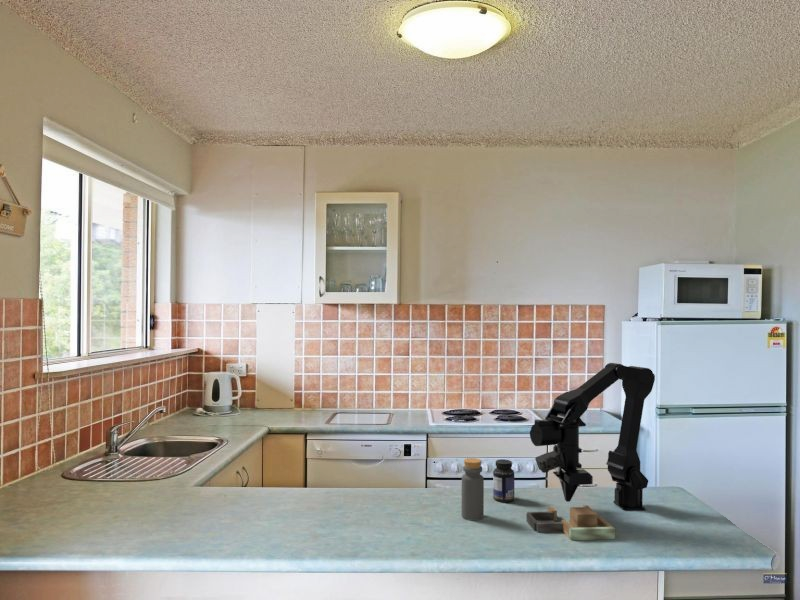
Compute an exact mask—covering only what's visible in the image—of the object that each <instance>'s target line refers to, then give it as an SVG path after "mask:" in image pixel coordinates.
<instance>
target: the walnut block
mask: <svg viewBox="0 0 800 600" xmlns="http://www.w3.org/2000/svg"><path fill="white" fill-rule="evenodd" d="M589 507H590V506H589ZM589 507H583V506H582V507H581V506H577V507H575V506H573V507H572V506H571V507H569V523H570V524H571V525H572V526H573V527H574V528H579V527H597V514H598V513H597V512H596V511H595V510H594V509H593V508H591V507H590V508H589ZM593 510H594V511H595V512H596V513H597V514H596V513H595V512H594V511H593Z"/></svg>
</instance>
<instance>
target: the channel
mask: <svg viewBox="0 0 800 600" xmlns="http://www.w3.org/2000/svg"><path fill="white" fill-rule="evenodd" d="M582 507H589V508H591V507H590V506H589V505H587V504H586V505H585V504H584V505H582ZM592 510H593V511H594V512H595V513H596V514H597V527H579V528H574V527H573V526H572V525H571V524H570V521H568V520H567V519H561V521H558V510H557V509H556V508H555V507H554V506H552V505H548V506H547V511H527V512H526V514H525V515H526V518H525V519H526V522H527V523H528V525H529V526H530V528H532V530H533V531H534V532H537V533H557V532H563V534H564V535H565V536H567V538H568V539H569V540H570V541H578V540H579V541H581V540H582V541H583V540H584V541H585V540H587V541H588V540H589V541H590V540H591V541H592V540H615V539H616V528H615V527H614V526H612V525H611V524H610V523H609V522H608V521H607V520H606V519H604V518H603V517H602V516H601V515H599V513H598V512H596V511H595V510H594V509H592Z"/></svg>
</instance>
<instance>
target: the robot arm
mask: <svg viewBox="0 0 800 600" xmlns="http://www.w3.org/2000/svg"><path fill="white" fill-rule="evenodd" d="M618 380H621V387H622V390H623V392H624V395H625V401H624V405H623V406H624V407H623V411H622V418H621V423H620V424H621V425H620V431H619V436H618V444H617V446H616V447H615V449H613V451H612V450H609V451H608V456H607V461H606V462H605V465H607V471H608V472H609V474H610V477H611V481H613V482H615V488H614V500H613V503H614V504H615V505H616V506H617V507H619V508H620V509H622V510H623V511H633V510H634V511H635V510H636V511H641V510H642V511H643V510H644V511H645V510H646V507H645V505H643V504H644V503H643V501H644V499H643V496H644V495H643V490H644V489H647V488H648V485H649V480H648V477H646V476H645V474H644V473H643V472H642V471H641V460H640V456H639V454H638V450H637V449H638V443H639V436H640V429H641V423H642V417H643V410H644V404H645V400H646V399H647V398H648V396H649V395H650V394H651V393H652V391H653V388H654V384H655V381H656V376H655V373H653V370H651V368H648V367H643V366H642V367H641V366H635V365H629V366H627V365H623V364H621V363H615V362H608V363H607V364H606V365H605V366H604V367H603V368H602V369H601V370H599V371H598V372H597V373H595V374H594V375H593V376H592V377H590V378H589V379H587V380H586V381H585V382H584V383H582V384H581V385H580V386H579V387H577V388H575V389H572V390H569V391H565V392H564V393H562V394H560V395H558V396H557V397H555V399H554V400H553V404H552V406H551V407H550V409H549V411H548V413H547V414H546V416H545V418H544V419H534V424H532V426H531V428H530V430H529V438H530V440H531V443H532V444H533V445H534V446H535V447H543V446H544V447H545V446H553V450H552V451H549V452H545V453H543V454H540V455H538V456H536V457H535V458H534V459H535V462H536V464H537V467H538V470H539V471H541V473H543V474H545V473H548V472H549V471H551V470H554V469H555V471H553V472H552V473H553V474H554V476H555V477H556V478H557V479H558V480H559V483H560V486H561V489H562V493H563V497H564V501H566V502H571V501H572V498H573V497H574V495H575V493H576V491H577V489H578V487H579V486H580V485H581V486H582V485H586V486H587V485H593V482H594V480H593V477H594V476H592V474H591V473H590V472H589V471H587V470H585V469H584V468H582V464H581V463H580V454H581V453H582V452H583V451H582V448H581V447H580V428H581V427H586V426H587V423H586V422H584V421H583V420H582V419H581V417H582V416H583V415H584V414H585V412H586V411H588V408H589V405H590V403H591V402H592V401H593V400H595V399H596V398H597V397H598V396H600V394H602V393H604V392H605V391H606V390H607V389H608V388H610V387H611V386H612V385H614V384H615V383H616V382H617V381H618Z"/></svg>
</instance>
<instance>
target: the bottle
mask: <svg viewBox="0 0 800 600" xmlns="http://www.w3.org/2000/svg"><path fill="white" fill-rule="evenodd" d="M463 463H464V466H462V470H463V472H464V473H463V475H461V518H463V519H465V520H468V521H481V520H483V518H484V510H485V509H484V503H485V501H484V500H485V498H484V493H485V492H484V490H485V489H484V487H485V485H484V484H485V483H484V482H485V481H484V480H485V479H484V476H483V474H481V473H482V472H483V467H482V466H481V465H482V459H479V458H476V457H474V458H473V457H468V458H465V459H463Z"/></svg>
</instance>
